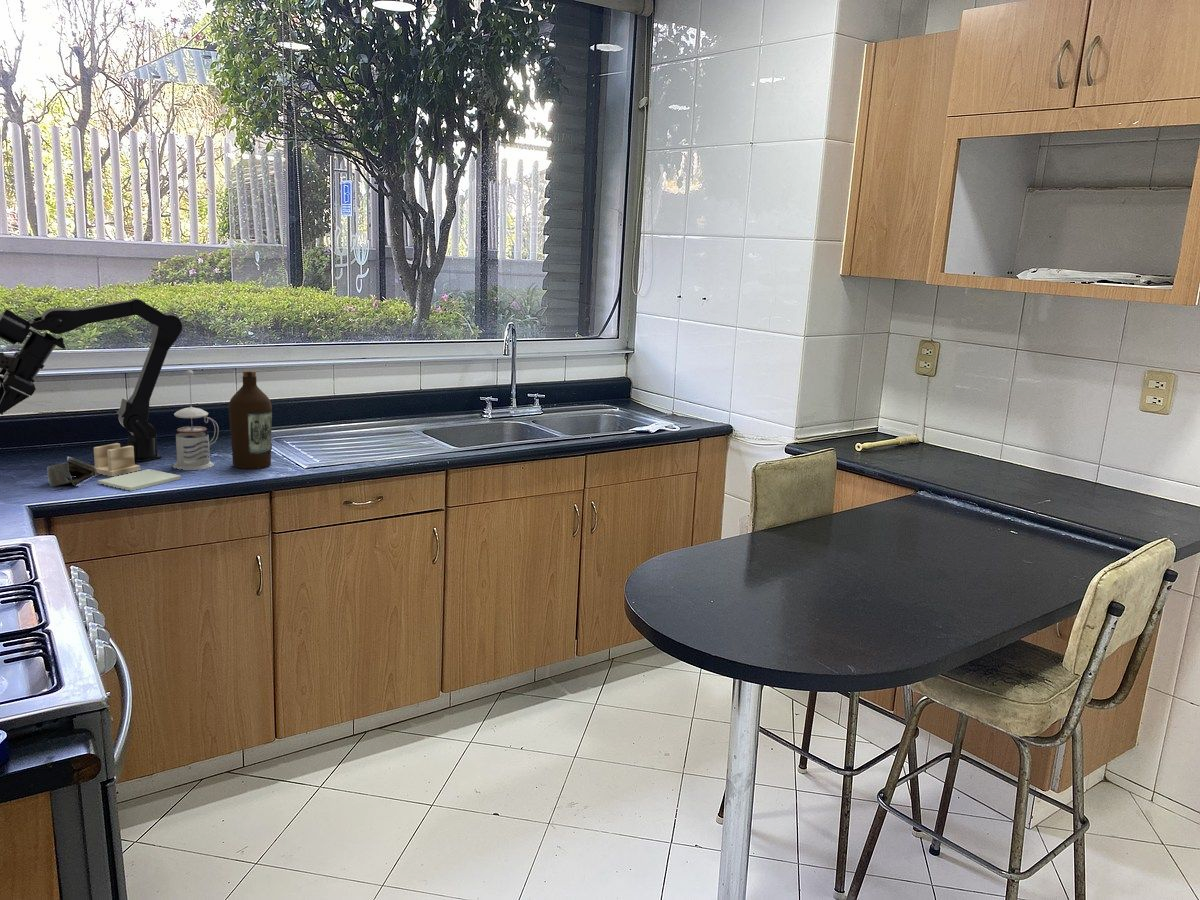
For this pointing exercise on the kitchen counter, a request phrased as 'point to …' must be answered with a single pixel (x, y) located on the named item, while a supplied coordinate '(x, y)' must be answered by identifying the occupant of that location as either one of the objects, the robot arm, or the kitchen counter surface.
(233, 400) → the olive oil
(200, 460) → the french press
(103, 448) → the wooden slotted holder
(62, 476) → the chocolate cake
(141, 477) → the sage board
